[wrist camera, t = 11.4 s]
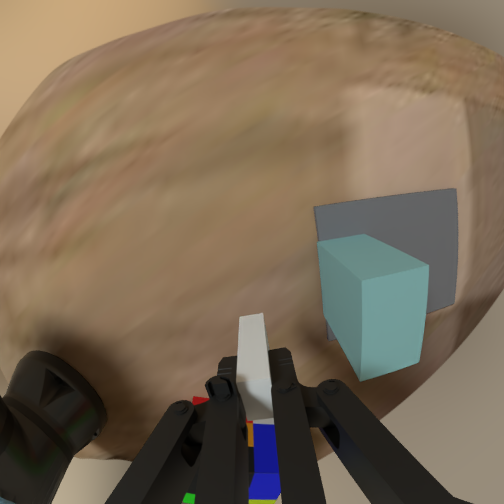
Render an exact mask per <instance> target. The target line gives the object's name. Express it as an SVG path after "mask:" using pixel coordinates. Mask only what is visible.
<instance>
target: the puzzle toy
mask: <svg viewBox="0 0 504 504" xmlns="http://www.w3.org/2000/svg"><path fill="white" fill-rule="evenodd" d="M207 400H209V398H202V397H195V396H194V397H193V401H192V403H193V404H194V405H197V404H200V403H203V402H206V401H207ZM246 424H247V427H248V472H249V504H274V503H275V502H276V500H277V498H278V496H279V495H280V493H281V488H280V478H279V467H278V457H277V447H276V437H275V427H274V418H268V419H261V420H253V421H247V417H246ZM198 471H199V467H198V469H197V472H196V474H195V476H194V478H193V480H192V482H191V484H190V486H189V489H188V491H187V493H186V495H185V497H184V499H183V502H184V503H191V504H194V500H195V493H196V485H197V478H198Z"/></svg>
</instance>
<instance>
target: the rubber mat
mask: <svg viewBox="0 0 504 504" xmlns="http://www.w3.org/2000/svg"><path fill="white" fill-rule="evenodd" d="M314 214H315V221H316V229H317V236H318V242H319V241H325V240H331V239H337V238H343V237H349V236H355V235H361V234H366V235H368V236H370V237H373V238H375V239H377V240H379V241H381V242H383V243H385V244H387V245H390V246H392V247H394V248H396V249H398V250H400V251H402V252H404V253H406V254H408V255H410V256H412V257H414V258H416V259H418V260H420V261H422V262H424V263H426V264H428V265H429V280H428V296H427V308H426V314H427V313H430V312H433V311H435V310H438V309H441V308H444V307H446V306H449V305H452V304H454V302H455V292H456V281H457V266H458V208H457V192H456V189H454V188H452V189H442V190H433V191H424V192H416V193H408V194H400V195H392V196H384V197H377V198H369V199H362V200H355V201H348V202H341V203H335V204H328V205H322V206H315V207H314ZM326 326H327V339H328V341H332V340H336V339H337V338H336V336H335V335H334V333H333V331H332V329H331V327H330V326H329V324H328V322H327V320H326Z"/></svg>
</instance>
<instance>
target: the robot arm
mask: <svg viewBox="0 0 504 504" xmlns="http://www.w3.org/2000/svg"><path fill="white" fill-rule="evenodd" d="M205 387H206V390H207V392H208V395H209V400H207V401H206V402H203V403H200V404H197V405H194V404H193V403H191V402H190V401H187V400H181V401H177V402H175V403H173V404H171V406H170V407H169V408H168V409H167V411H166V412H165V414H164V415H163V417H162V418H161V420H160V421H159V423H158V424H157V426H156V428H155V429H154V431H153V432H152V434H151V435H150V437H149V438H148V440H147V441H146V443H145V444H144V446H143V447H142V449H141V450H140V452H139V453H138V455H137V456H136V458H135V459H134V461H133V462H132V464H131V465H130V467H129V468H128V470H127V471H126V473H125V474H124V476H123V477H122V479H121V480H120V482H119V483H118V485H117V486H116V488H115V489H114V490H113V492H112V494H111V495H110V496H109V498H108V499H107V501H106V502H105V504H181V503H182V501H183V499H184V497H185V495H186V493H187V491H188V489H189V486H190V484H191V482H192V480H193V478H194V476H195V474H196V472H197V469H198V467H199V471H198V478H197V485H196V493H195V500H194V504H249V472H248V427H247V424H246V417H247V421H253V420H261V419H268V418H274V427H275V437H276V447H277V457H278V467H279V478H280V488H281V498H282V504H326V499H325V495H324V490H323V486H322V481H321V476H320V472H319V467H318V463H317V458H316V454H315V449H314V445H313V441H312V436H311V432H310V428H309V427H319V429H320V431H321V432H322V434H323V435H324V437H325V438H326V440H327V441H328V443H329V444H330V446H331V447H332V449H333V450H334V452H335V453H336V454H337V456H338V458H339V459H340V460H341V462H342V463H343V465H344V466H345V468H346V469H347V470H348V472H349V473H350V475H351V476H352V478H353V479H354V480H355V482H356V483H357V484H358V486H359V487H360V489H361V490H362V491H363V493H364V494H365V496H366V497H367V498H368V500H369V501H370V503H371V504H472V503H470V502H467V501H464V500H461V499H458V498H455V497H453V496H452V495H451V494H450V493H449V492H448V491H447V490H446V489H445V488H444V487H443V486H442V485H441V484H440V483H439V482H438V481H437V480H436V479H435V478H434V477H433V476H432V475H431V474H430V473H429V472H428V471H427V470H426V469H425V468H424V467H423V466H422V465H421V464H420V463H419V462H418V461H417V460H416V459H415V458H414V457H413V456H412V454H411V453H410V452H409V451H408V450H407V449H406V448H405V447H404V446H403V445H402V444H401V443H400V442H399V441H398V440H397V439H396V438H395V437H394V436H393V435H392V434H391V433H390V432H389V431H388V429H387V428H386V427H385V426H384V425H383V424H382V423H381V422H380V421H379V420H378V419H377V418H376V417H375V416H374V415H373V413H372V412H371V411H370V410H369V409H368V408H367V407H366V406H365V405H364V404H363V403H362V402H361V401H360V400H359V398H358V397H357V396H356V395H355V394H354V393H353V392H352V391H351V390H350V389H349V388H348V387H347V386H346V384H345V383H343V382H342V381H340V380H337V379H329V380H326V381H323V382H322V383H320V384H319V385H318V386H317V387H306V386H303V385H301V384H300V383H299V382H298V380H297V377H296V372H295V368H294V364H293V360H292V356H291V352H290V351H289V350H288V349H287V348H286V347H285V348H279V349H273V350H269V344H268V338H267V333H266V327H265V322H264V317H263V313H260V314H254V315H248V316H242V317H240V320H239V338H238V356H231V357H223V358H222V360H221V361H220V362H219V365H218V372H217V376H214V377H212V378H210V379H209V380H208V381H207V382H206V384H205ZM105 423H106V411H105V408H104V406H103V404H102V402H101V400H100V398H99V396H98V395H97V393H96V392H95V391H94V389H93V388H92V387H91V386H90V385H89V383H88V382H87V381H86V380H85V379H84V378H83V377H82V376H81V375H80V374H79V373H78V372H77V371H75V370H74V369H73V368H72V367H71V366H69V365H68V364H67V363H65V362H64V361H62V360H61V359H59V358H57V357H56V356H54V355H52V354H49V353H46V352H43V351H31V352H29V353H27V354H26V355H25V356H24V357H23V358H22V359H21V360H20V361H19V363H18V364H17V366H16V369H15V371H14V373H13V376H12V378H11V381H10V384H9V386H8V389H7V392H6V394H5V395H4V397H3V398H2V397H1V396H0V504H51V503H52V501H53V499H54V496H55V494H56V492H57V490H58V488H59V485H60V483H61V481H62V479H63V477H64V475H65V472H66V470H67V468H68V466H69V464H70V462H71V460H72V458H73V457H74V455H75V454H76V453H78V452H79V451H80V450H82V449H83V448H84V447H85V446H87V445H88V444H89V443H90V442H91V441H92V440H94V439H95V438H97V437H98V436H99V434H100V433H101V431H102V429H103V427H104V425H105Z"/></svg>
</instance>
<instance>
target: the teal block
mask: <svg viewBox="0 0 504 504" xmlns="http://www.w3.org/2000/svg"><path fill="white" fill-rule="evenodd" d="M317 248H318V257H319V267H320V277H321V288H322V300H323V313H324V317H325V318H326V320H327V322H328V324H329V326H330V327H331V329H332V331H333V333H334V335H335V336H336V338H337V340H338V342H339V344H340V345H341V347H342V349H343V351H344V353H345V355H346V356H347V358H348V360H349V362H350V364H351V366H352V368H353V369H354V371H355V373H356V375H357V377H358V379H359V381H360V382H361V381H364V380H368V379H371V378H374V377H378V376H381V375H384V374H387V373H390V372H393V371H396V370H399V369H402V368H405V367H408V366H411V365H413V364H416V363H419V359H420V353H421V347H422V341H423V334H424V326H425V317H426V308H427V296H428V280H429V265H428V264H426V263H424V262H422V261H420V260H418V259H416V258H414V257H412V256H410V255H408V254H406V253H404V252H402V251H400V250H398V249H396V248H394V247H392V246H390V245H387V244H385V243H383V242H381V241H379V240H377V239H375V238H373V237H370V236H368V235H366V234H361V235H355V236H349V237H343V238H337V239H331V240H325V241H319V242H317Z"/></svg>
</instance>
